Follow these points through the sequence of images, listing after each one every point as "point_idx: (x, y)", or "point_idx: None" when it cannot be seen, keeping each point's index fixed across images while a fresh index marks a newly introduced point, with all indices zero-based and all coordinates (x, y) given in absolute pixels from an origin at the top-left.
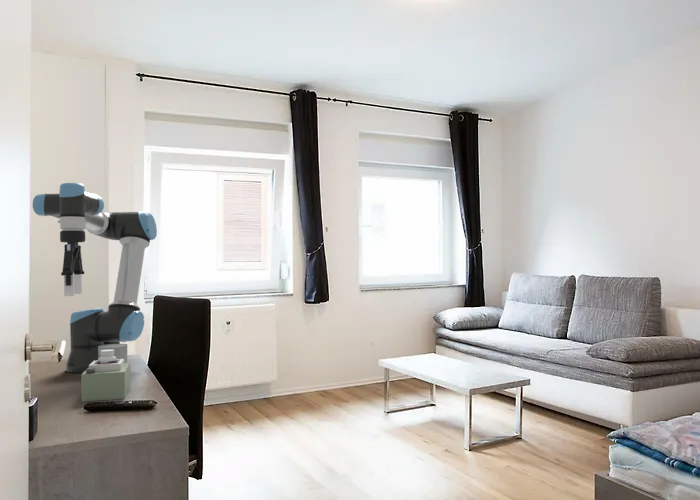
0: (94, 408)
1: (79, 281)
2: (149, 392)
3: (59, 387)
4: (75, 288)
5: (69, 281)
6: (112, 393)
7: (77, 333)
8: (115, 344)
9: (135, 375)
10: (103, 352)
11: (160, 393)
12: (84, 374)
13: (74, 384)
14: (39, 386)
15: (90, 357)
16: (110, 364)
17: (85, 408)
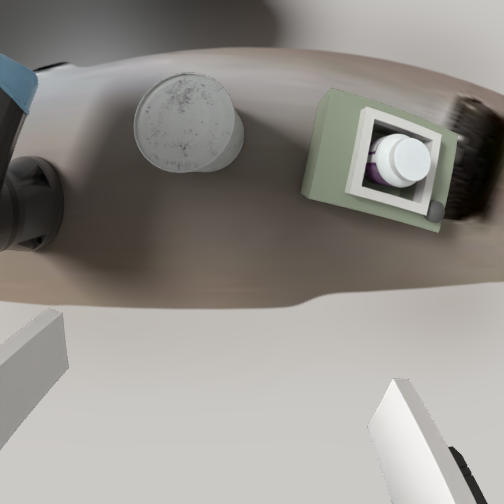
0: (469, 204)
1: (2, 383)
2: (394, 81)
3: (218, 262)
4: (45, 376)
5: (464, 475)
6: None
7: None
8: (137, 114)
9: None
10: (426, 174)
11: (413, 67)
12: (440, 225)
13: (197, 229)
14: (182, 303)
15: (36, 198)
16: (437, 159)
17: (461, 218)
